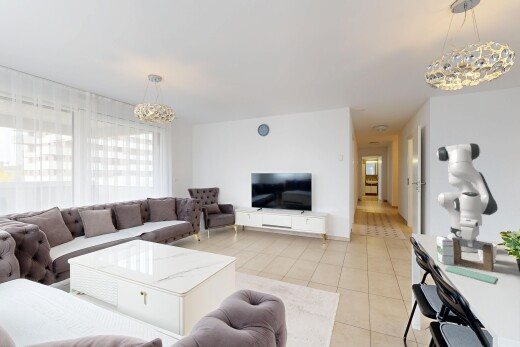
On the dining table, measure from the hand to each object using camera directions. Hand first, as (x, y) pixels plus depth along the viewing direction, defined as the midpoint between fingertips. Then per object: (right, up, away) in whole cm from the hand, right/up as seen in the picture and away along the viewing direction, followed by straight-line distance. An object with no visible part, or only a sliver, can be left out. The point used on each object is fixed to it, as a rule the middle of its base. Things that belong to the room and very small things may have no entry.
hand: (471, 245), depth 123 cm
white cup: (+14, -11, +5) cm, 19 cm away
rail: (0, -1, 0) cm, 1 cm away
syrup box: (-11, -12, +4) cm, 17 cm away
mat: (-12, -11, -11) cm, 20 cm away
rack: (0, -11, 0) cm, 11 cm away
